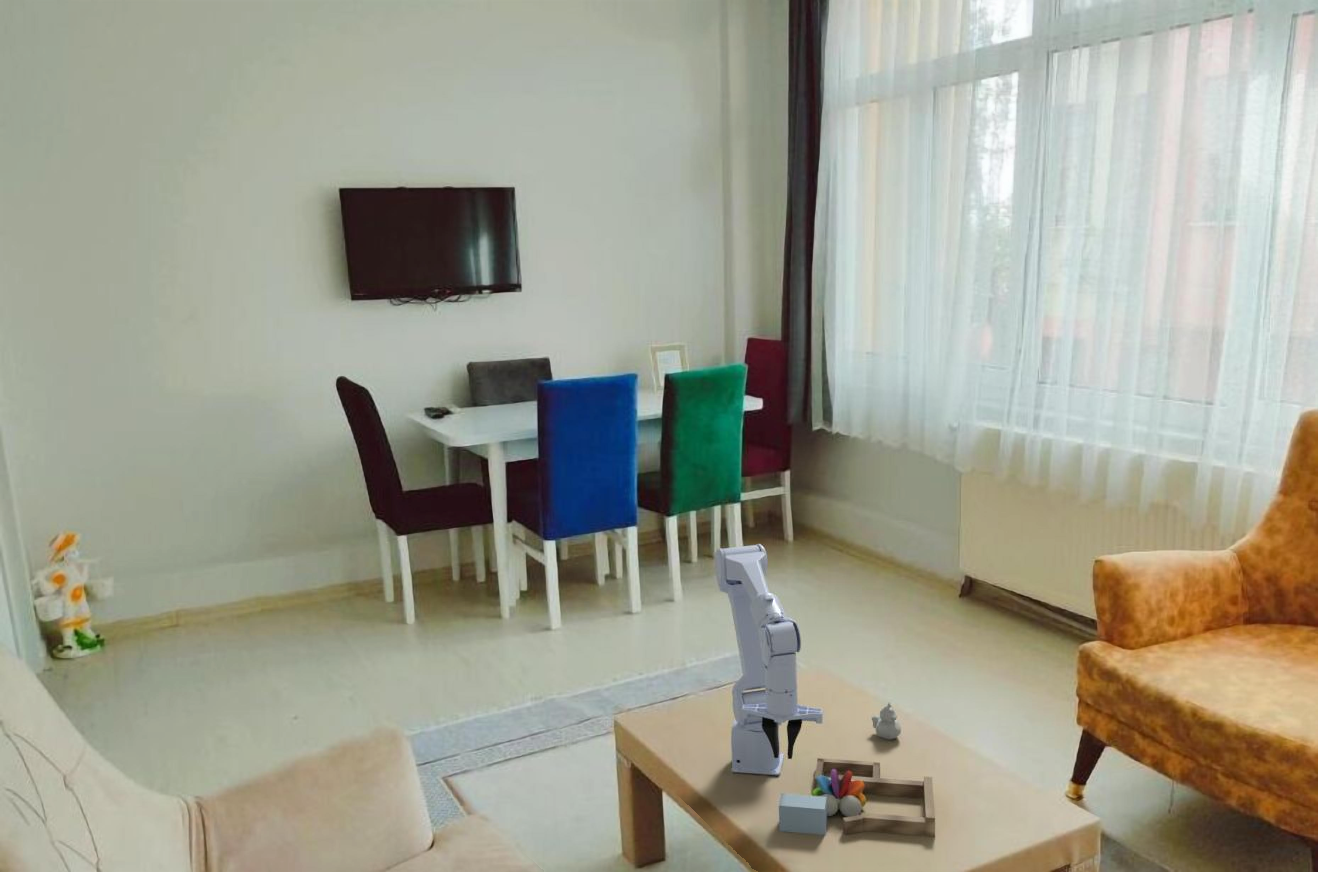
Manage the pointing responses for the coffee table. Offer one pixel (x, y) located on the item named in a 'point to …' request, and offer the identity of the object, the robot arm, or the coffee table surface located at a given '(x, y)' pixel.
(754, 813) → the coffee table surface
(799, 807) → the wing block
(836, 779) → the rainbow fan toy
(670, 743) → the coffee table surface
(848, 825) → the frame
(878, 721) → the grey figurine
